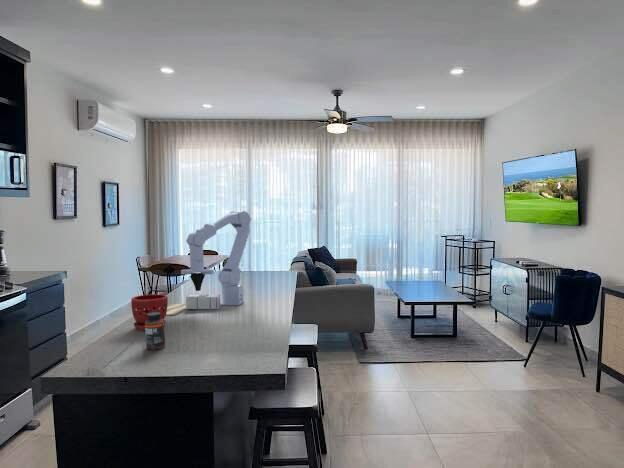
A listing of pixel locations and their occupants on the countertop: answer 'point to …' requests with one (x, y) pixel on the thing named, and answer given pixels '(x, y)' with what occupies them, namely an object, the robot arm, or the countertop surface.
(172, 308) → the wooden board
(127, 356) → the countertop surface
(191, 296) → the syrup box
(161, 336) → the supplement bottle
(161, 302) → the plant pot
